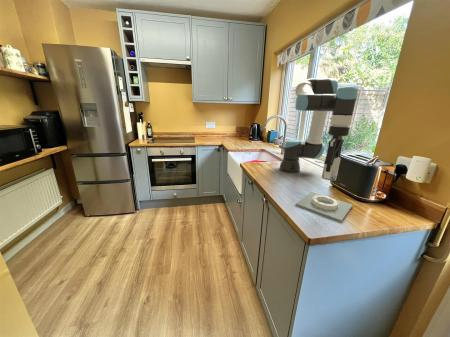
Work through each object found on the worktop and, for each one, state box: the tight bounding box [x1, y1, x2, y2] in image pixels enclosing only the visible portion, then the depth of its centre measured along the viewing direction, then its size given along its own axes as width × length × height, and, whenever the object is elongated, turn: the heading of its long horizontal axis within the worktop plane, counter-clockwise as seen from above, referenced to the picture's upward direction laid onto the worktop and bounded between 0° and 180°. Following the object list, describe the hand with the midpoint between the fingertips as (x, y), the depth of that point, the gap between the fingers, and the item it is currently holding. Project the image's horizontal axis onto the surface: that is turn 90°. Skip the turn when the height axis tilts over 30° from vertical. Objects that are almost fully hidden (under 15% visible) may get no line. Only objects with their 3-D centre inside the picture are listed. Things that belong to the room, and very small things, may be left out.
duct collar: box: [321, 157, 342, 182], centre depth 86 cm, size 6×6×10 cm
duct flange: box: [295, 191, 354, 223], centre depth 92 cm, size 20×20×3 cm
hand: (329, 176), depth 88 cm, fingers closed on duct collar, 6 cm apart
